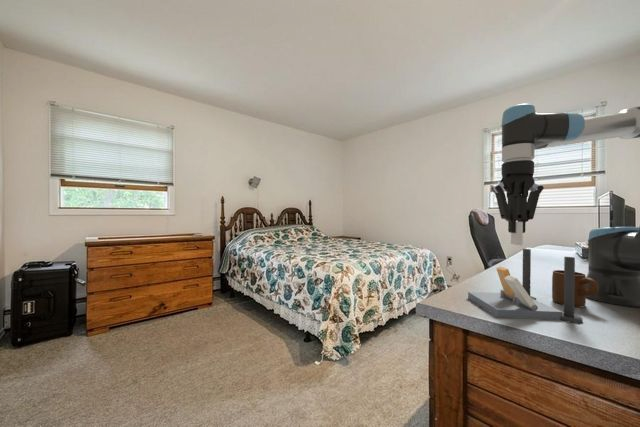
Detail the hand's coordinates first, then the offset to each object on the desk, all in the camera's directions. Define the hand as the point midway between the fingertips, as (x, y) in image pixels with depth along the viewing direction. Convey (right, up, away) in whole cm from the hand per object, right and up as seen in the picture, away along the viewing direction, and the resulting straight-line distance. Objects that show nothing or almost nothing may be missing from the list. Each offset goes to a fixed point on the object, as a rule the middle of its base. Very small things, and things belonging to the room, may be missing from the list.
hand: (516, 244), depth 77 cm
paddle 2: (-1, -16, -5) cm, 16 cm away
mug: (+20, -19, +4) cm, 28 cm away
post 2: (+8, -19, -7) cm, 21 cm away
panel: (-1, -18, +1) cm, 18 cm away
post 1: (+9, -19, +9) cm, 23 cm away
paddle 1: (0, -16, +2) cm, 16 cm away
